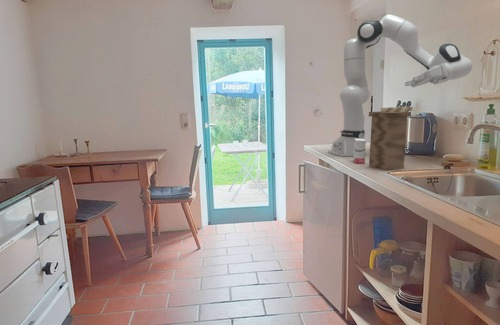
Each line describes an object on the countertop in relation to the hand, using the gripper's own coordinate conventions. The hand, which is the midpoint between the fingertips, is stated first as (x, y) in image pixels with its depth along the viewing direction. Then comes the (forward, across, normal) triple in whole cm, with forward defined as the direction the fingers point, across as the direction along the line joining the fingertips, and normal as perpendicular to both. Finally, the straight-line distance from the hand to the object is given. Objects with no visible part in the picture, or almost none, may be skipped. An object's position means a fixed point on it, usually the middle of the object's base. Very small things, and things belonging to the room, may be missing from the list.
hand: (409, 81), depth 172 cm
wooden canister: (+23, +4, +37) cm, 44 cm away
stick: (+13, +8, +13) cm, 20 cm away
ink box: (+32, -8, +32) cm, 46 cm away
